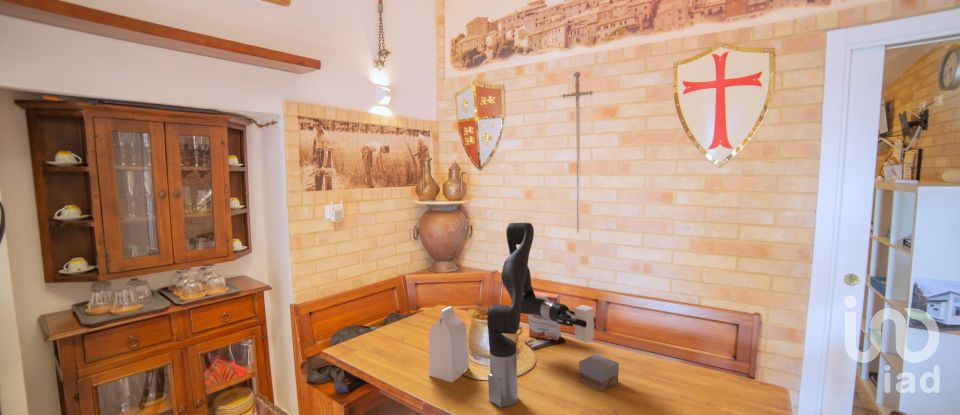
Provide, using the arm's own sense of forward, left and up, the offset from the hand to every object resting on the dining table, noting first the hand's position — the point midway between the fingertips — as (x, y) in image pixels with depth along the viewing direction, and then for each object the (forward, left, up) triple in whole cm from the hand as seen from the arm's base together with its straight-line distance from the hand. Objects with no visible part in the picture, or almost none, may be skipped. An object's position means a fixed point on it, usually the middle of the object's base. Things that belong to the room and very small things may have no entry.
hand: (590, 322), depth 145 cm
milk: (-36, +41, -22) cm, 59 cm away
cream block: (0, +3, -7) cm, 7 cm away
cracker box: (+17, +37, -22) cm, 47 cm away
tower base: (0, -3, -22) cm, 23 cm away
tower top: (0, -3, -18) cm, 19 cm away
